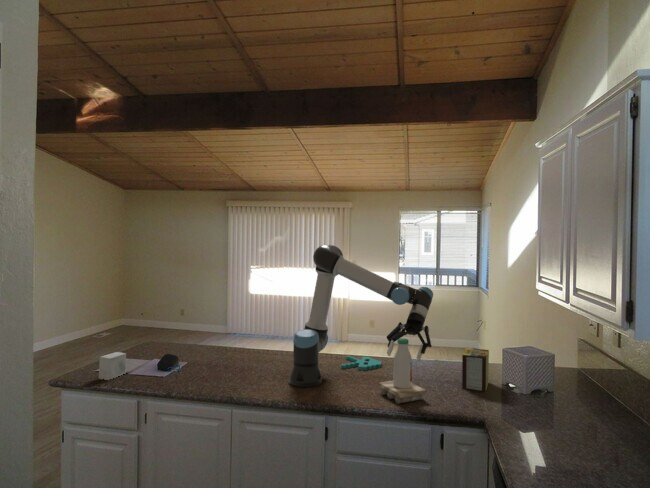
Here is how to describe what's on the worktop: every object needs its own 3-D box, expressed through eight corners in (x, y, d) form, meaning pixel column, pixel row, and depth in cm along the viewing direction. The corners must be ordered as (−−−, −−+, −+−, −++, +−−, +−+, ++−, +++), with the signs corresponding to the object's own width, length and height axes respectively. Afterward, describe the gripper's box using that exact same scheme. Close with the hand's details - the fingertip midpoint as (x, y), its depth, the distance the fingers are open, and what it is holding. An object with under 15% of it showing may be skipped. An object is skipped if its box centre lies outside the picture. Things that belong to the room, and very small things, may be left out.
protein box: (488, 382, 204) (489, 349, 204) (486, 392, 190) (486, 357, 190) (465, 379, 208) (466, 347, 208) (461, 388, 194) (462, 354, 194)
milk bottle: (407, 390, 177) (408, 342, 177) (390, 387, 181) (390, 339, 181) (414, 385, 183) (414, 338, 183) (397, 382, 187) (398, 336, 188)
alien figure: (341, 369, 223) (379, 372, 219) (341, 365, 223) (379, 368, 219) (346, 359, 242) (382, 362, 238) (346, 355, 242) (382, 358, 238)
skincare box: (109, 380, 198) (109, 358, 198) (98, 379, 200) (98, 356, 200) (126, 374, 208) (126, 352, 208) (115, 372, 210) (116, 351, 210)
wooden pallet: (378, 393, 186) (378, 382, 187) (403, 389, 192) (403, 379, 192) (400, 405, 172) (400, 394, 172) (426, 400, 178) (426, 390, 178)
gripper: (446, 325, 189) (433, 366, 177) (394, 318, 203) (379, 357, 191) (442, 314, 185) (429, 356, 172) (389, 308, 199) (374, 347, 187)
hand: (402, 356), depth 182 cm, fingers open, 13 cm apart
